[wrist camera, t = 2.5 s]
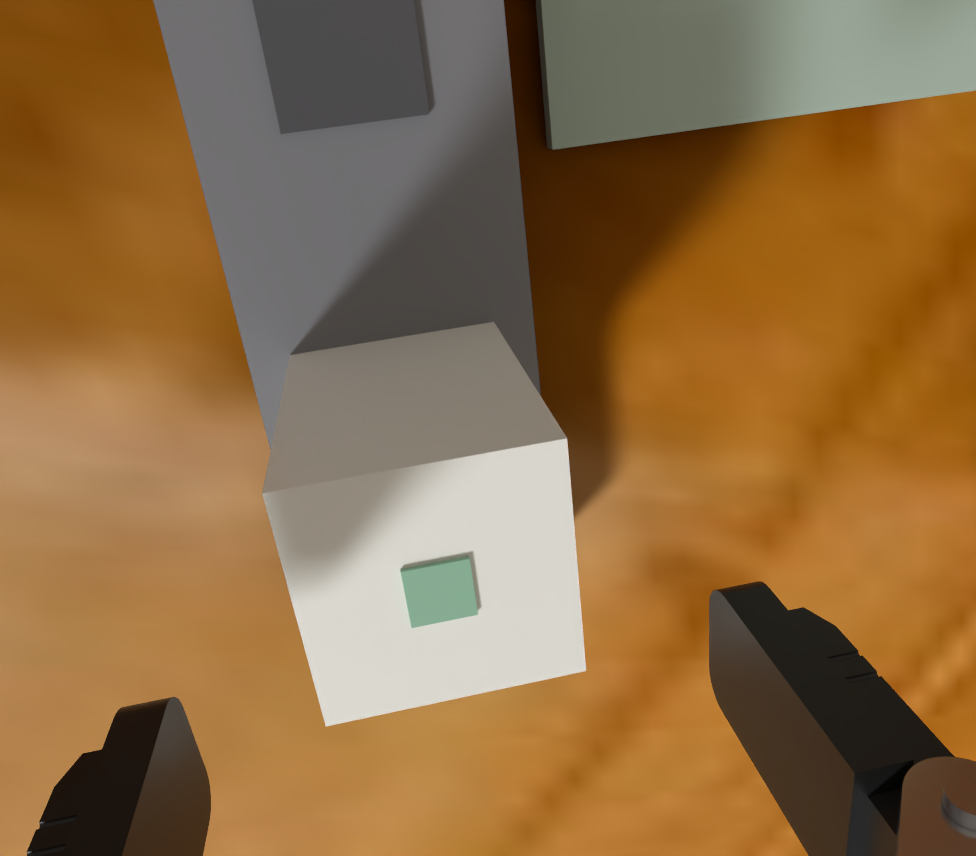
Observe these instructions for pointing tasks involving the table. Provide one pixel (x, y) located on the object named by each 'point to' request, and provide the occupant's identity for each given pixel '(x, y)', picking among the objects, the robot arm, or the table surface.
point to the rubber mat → (740, 61)
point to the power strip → (355, 171)
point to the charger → (423, 522)
